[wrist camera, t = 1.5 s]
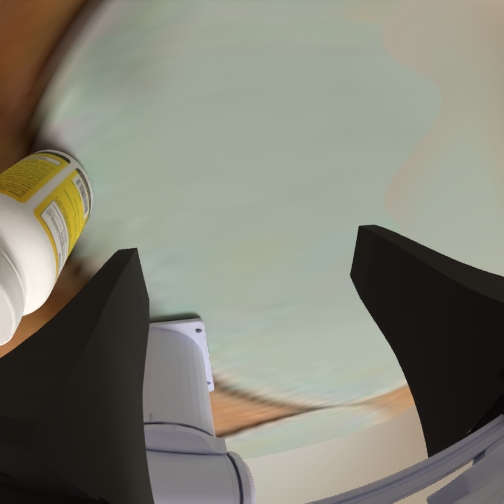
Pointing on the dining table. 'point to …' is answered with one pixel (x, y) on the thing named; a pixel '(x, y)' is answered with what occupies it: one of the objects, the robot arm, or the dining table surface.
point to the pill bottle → (38, 230)
